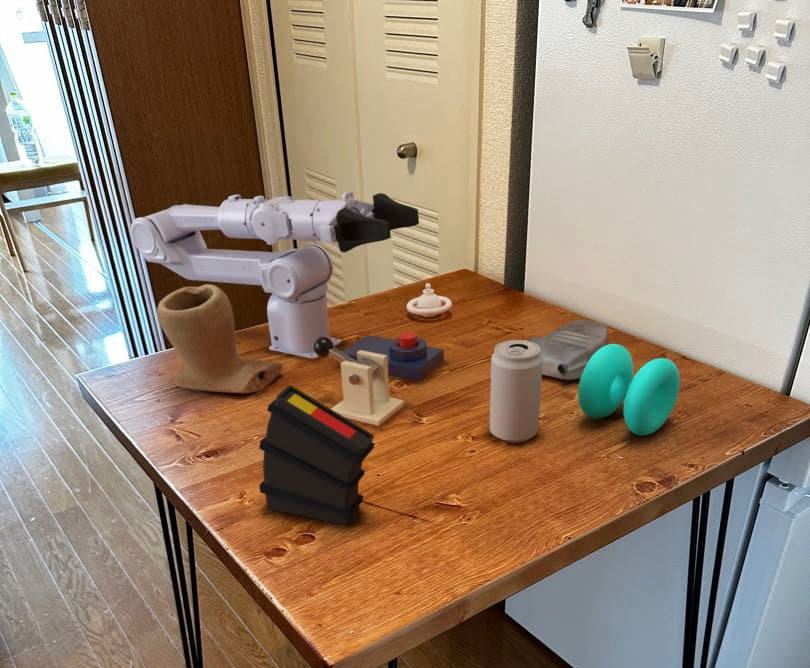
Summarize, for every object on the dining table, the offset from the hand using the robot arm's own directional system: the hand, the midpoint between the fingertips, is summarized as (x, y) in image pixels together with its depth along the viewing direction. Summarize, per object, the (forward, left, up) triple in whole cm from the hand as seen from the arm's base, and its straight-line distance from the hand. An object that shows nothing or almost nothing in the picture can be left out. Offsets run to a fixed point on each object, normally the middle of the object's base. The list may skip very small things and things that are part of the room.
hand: (403, 223), depth 111 cm
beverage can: (+23, -12, -22) cm, 34 cm away
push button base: (-3, 0, -22) cm, 22 cm away
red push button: (0, 0, -18) cm, 18 cm away
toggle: (-2, -15, -16) cm, 22 cm away
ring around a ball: (-8, +21, -22) cm, 31 cm away
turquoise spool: (+35, -3, -22) cm, 41 cm away
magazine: (+11, -39, -22) cm, 46 cm away
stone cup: (-22, -18, -22) cm, 36 cm away
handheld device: (+21, +14, -22) cm, 33 cm away
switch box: (+2, -15, -22) cm, 26 cm away
